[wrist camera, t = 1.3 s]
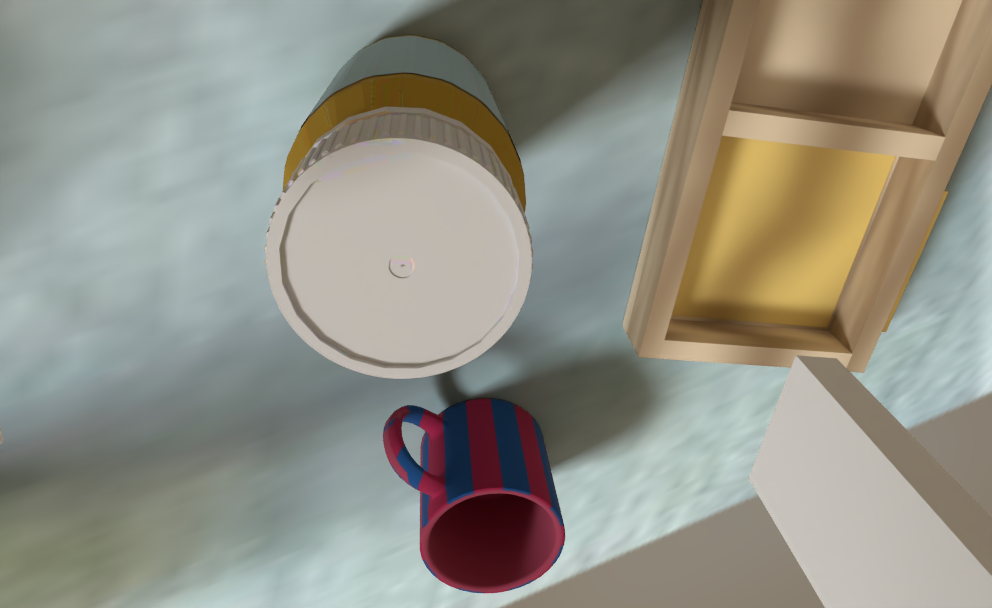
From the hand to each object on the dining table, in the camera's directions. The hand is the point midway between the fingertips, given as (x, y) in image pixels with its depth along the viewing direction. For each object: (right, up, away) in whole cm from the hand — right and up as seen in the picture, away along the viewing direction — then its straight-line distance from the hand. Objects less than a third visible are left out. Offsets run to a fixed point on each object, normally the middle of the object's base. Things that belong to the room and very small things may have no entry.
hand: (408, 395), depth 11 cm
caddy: (+15, +10, +19) cm, 26 cm away
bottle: (-2, +9, +18) cm, 20 cm away
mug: (0, -5, +26) cm, 26 cm away
